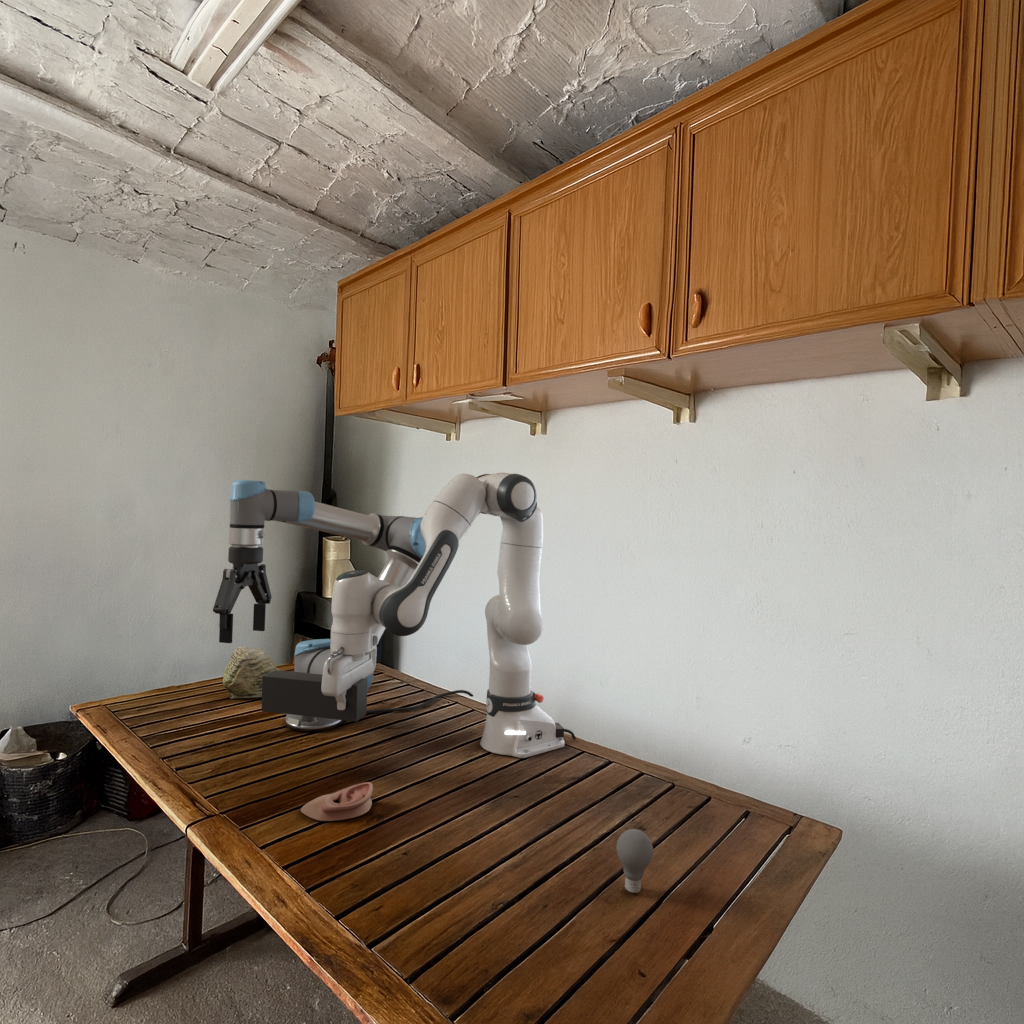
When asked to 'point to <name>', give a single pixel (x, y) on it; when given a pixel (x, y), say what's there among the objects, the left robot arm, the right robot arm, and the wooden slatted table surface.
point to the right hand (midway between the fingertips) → (349, 704)
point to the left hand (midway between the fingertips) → (242, 636)
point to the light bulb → (634, 857)
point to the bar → (310, 696)
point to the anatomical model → (341, 804)
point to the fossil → (247, 672)
